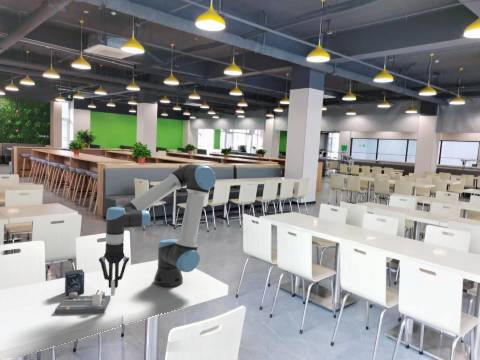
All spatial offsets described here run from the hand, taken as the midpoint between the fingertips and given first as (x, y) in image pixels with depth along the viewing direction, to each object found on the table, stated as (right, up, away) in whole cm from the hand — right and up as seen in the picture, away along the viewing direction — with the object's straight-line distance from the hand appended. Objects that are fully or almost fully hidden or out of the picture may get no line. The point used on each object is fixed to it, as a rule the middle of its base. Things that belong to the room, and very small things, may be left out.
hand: (113, 294), depth 166 cm
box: (-24, -4, +15) cm, 28 cm away
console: (-13, -6, +1) cm, 14 cm away
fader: (-7, -4, 0) cm, 8 cm away
